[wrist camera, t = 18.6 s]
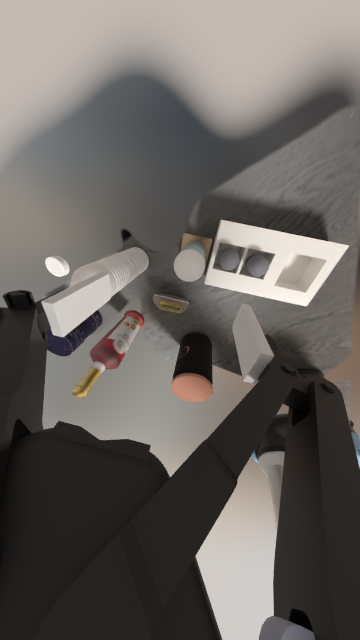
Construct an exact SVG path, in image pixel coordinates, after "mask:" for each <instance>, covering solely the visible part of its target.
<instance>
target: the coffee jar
mask: <svg viewBox="0 0 360 640" xmlns="http://www.w3.org/2000/svg"><path fill="white" fill-rule="evenodd" d="M171 388H172V391H173V392H174V394H175V395H177V396H178V397H180V398H181V399H183V400H187V401H191V402H199V401H204V400H207V399H208V398H209V397H210V396H211V395H212V393H213V390H212V344H211V341H210V340H209V339H208V338H207V337H206V336H205V335H203V334H200V333H191V334H188V335H186V336H185V337H184V338H183V339H182V341H181V345H180V349H179V353H178V358H177V362H176V366H175V371H174V375H173V381H172V384H171Z"/></svg>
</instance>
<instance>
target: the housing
mask: <svg viewBox="0 0 360 640" xmlns="http://www.w3.org/2000/svg"><path fill="white" fill-rule="evenodd" d="M348 247H349V246H348V245H343V244H338V243H333V242H328V241H323V240H319V239H314V238H309V237H304V236H299V235H294V234H289V233H284V232H279V231H274V230H270V229H265V228H260V227H255V226H250V225H245V224H240V223H235V222H230V221H225V220H220V221H219V225H218V229H217V233H216V236H215V240H214V244H213V248H212V252H211V256H210V259H209V263H208V267H207V271H206V275H205V283H204V284H207V285H212V286H216V287H221V288H225V289H230V290H234V291H239V292H243V293H248V294H252V295H257V296H261V297H266V298H270V299H275V300H279V301H284V302H289V303H293V304H298V305H302V306H307V305H308V304H309V302H310V301H311V300H312V298H313V297H314V295H315V294H316V292H317V291H318V290H319V288H320V287H321V285H322V284H323V282H324V281H325V280H326V278H327V277H328V275H329V274H330V272H331V271H332V270H333V268H334V267H335V265H336V264H337V262H338V261H339V260H340V258H341V257H342V255H343V254H344V252H345V251H346V250H347V248H348ZM226 248H232V249H234V250H235V251H236V253H237V254H238V256H239V263H238V265H237V267H236V268H234V269H233V270H224V269H223V268H222V267H221V266H220V262H219V255H220V253H221V251H223V250H224V249H226ZM253 254H260V255H262V256H263V257H265V258H266V259H267V260H268V261H269V269H268V271H267V272H266V273H265V274H264V275H262V276H259V277H255V276H252V275H251V274H250V273H249V271H248V270H247V268H246V261H247V259H248V258H249V257H250V256H251V255H253Z"/></svg>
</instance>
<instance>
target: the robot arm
mask: <svg viewBox="0 0 360 640" xmlns="http://www.w3.org/2000/svg"><path fill="white" fill-rule="evenodd" d="M3 298H4V300H5V302H6V304H7V306H8V308H1V307H0V640H222V638H221V634H220V631H219V628H218V625H217V622H216V619H215V616H214V613H213V609H212V606H211V603H210V600H209V597H208V594H207V591H206V588H205V585H204V582H203V579H202V575H201V572H200V569H199V566H198V563H197V560H196V557H195V556H196V554H197V552H198V550H199V549H200V547H201V545H202V544H203V542H204V540H205V539H206V537H207V535H208V534H209V532H210V530H211V529H212V527H213V525H214V524H215V522H216V520H217V518H218V517H219V515H220V513H221V512H222V510H223V508H224V507H225V504H226V503H227V502H228V499H229V498H230V496H231V495H232V493H233V491H234V489H235V487H236V485H237V479H238V477H239V475H240V473H241V471H242V470H243V468H244V467H245V465H246V463H247V462H248V460H249V458H250V457H251V455H252V457H253V459H254V461H255V462H257V463H258V465H259V467H260V469H261V470H262V471H263V472H264V473H265V474H266V476H267V481H268V487H269V492H270V497H271V502H272V508H273V512H274V517H275V523H276V528H277V539H276V549H275V561H274V581H273V588H274V616H272V617H269V618H267V619H266V621H265V622H264V624H263V625H262V628H261V632H260V636H259V640H360V438H359V436H358V435H357V434H356V433H355V431H354V430H353V428H352V427H351V425H350V424H349V421H348V417H347V413H346V408H345V404H344V400H343V396H342V393H341V391H340V390H339V389H338V388H337V387H336V386H335V385H334V384H333V383H331V382H330V381H328V380H326V379H325V377H324V376H323V375H322V374H321V373H319V372H317V371H314V370H308V369H301V370H296V368H295V367H293V366H292V365H291V364H289V363H287V362H285V361H284V359H283V357H282V355H281V353H280V351H279V350H278V347H277V346H276V344H275V342H274V340H273V339H272V338H271V337H270V336H269V335H266V334H264V333H263V331H262V329H261V327H260V325H259V323H258V321H257V318H256V316H255V314H254V312H253V310H252V308H251V306H250V305H247V304H242V305H241V307H240V310H239V312H238V314H237V316H236V319H235V321H234V323H233V326H232V329H233V334H234V339H235V343H236V348H237V353H238V358H239V363H240V368H241V372H242V377H243V381H245V382H249V383H253V384H254V383H255V382H256V381H257V380H258V379H259V382H258V383H257V384H256V385H255V386H254V387H253V389H252V390H251V391H250V392H249V393H248V394H247V395H246V396H245V397H244V398H243V400H242V401H241V402H240V403H239V404H238V405H237V406H236V407H235V409H234V410H233V411H232V412H231V413H230V414H229V415H228V416H227V417H226V419H225V420H224V421H223V422H222V423H221V424H220V425H219V426H218V427H217V428H216V430H215V431H214V432H213V433H212V434H211V435H210V436H209V437H208V438H207V439H206V440H205V441H204V442H202V443H201V444H200V445H199V447H198V448H197V449H196V450H195V451H194V452H193V453H192V454H191V455H190V456H189V457H188V459H187V460H186V461H185V462H184V463H183V464H182V465H181V466H180V467H179V468H178V470H177V471H176V472H175V473H174V474H173V475H172V477H169V474H168V473H167V471H166V469H165V467H164V465H163V464H162V463H161V461H160V460H159V459H158V458H157V457H156V456H155V455H154V454H152V453H151V452H149V451H150V445H148V444H144V443H140V442H136V441H132V440H129V439H121V440H99V439H97V438H96V437H94V436H93V435H92V434H90V433H89V432H88V431H86V430H85V429H83V428H82V427H80V426H76V425H72V424H68V423H64V422H61V421H58V423H57V424H56V425H55V427H54V428H50V429H45V430H43V425H42V414H43V400H44V384H45V369H46V354H47V339H48V335H47V332H46V331H48V330H49V329H51V331H52V333H53V335H55V336H59V337H64V336H66V335H67V334H68V333H69V332H70V331H72V330H73V329H74V328H75V327H77V326H78V325H79V324H80V323H82V322H83V321H84V320H85V319H87V318H88V317H89V316H90V315H92V314H93V313H94V312H95V311H97V310H98V309H99V308H100V307H101V306H103V305H104V304H105V303H106V302H108V301H109V300H110V299H111V294H110V282H109V274H108V273H104V272H100V273H98V274H96V275H94V276H92V277H90V278H88V279H86V280H84V281H82V282H80V283H78V284H76V285H74V286H71V287H69V288H67V289H65V290H62V291H59V292H57V293H55V294H53V295H50V296H49V297H46V298H44V299H42V300H40V301H38V302H36V303H35V301H34V298H33V296H32V293H31V292H29V291H25V290H18V291H12V292H8V293H6V294H4V295H3ZM282 404H285V405H287V406H289V413H288V414H279V415H276V414H277V412H278V411H279V409H280V407H281V406H282Z"/></svg>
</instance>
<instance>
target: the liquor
mask: <svg viewBox="0 0 360 640" xmlns="http://www.w3.org/2000/svg"><path fill="white" fill-rule="evenodd" d="M143 325H144V318H143V316H142V315H141V314H140V313H138V312H137V311H133V310H131V311H127V312H126V313H125V316H124V318H122V320H121V321H120V322H119V323H118V324H117V325H116V326H115V327H114V328H113V329H112V330H111V331H110V332H109V333H107V335H105V337H103V339H101V340H100V341H99V342H98V343H97V344H96V346H94V347H93V348H92V350H91V351H90V356H91V358H92V360H93V362H94V363H93V364H92V366H91V367H90V369H89V370H88V372H87V373H86V375H85V376H84V378H82V379H81V380H80V381H79V382H78V383H77V385H76V386H75V387H74V388H73V390H72V394H73V395H75V396H76V397H79V398H84V397H85V396H86V394H87V393H88V392H89V390H90V389H91V387H92V384H93V383H94V381H95V380H96V379H97V378H98V377H99V376H100V374H101V373H102V372H103V371H104V370H105V369H115V368H117V367H118V366H119V364H120V362H121V361H122V359H123V357H124V356H125V354H126V352H127V350H128V348H129V346H130V344H131V343H132V341H133V339H134V337H135V335H136V334H137V332H138V330H139V328H140V327H142V326H143Z"/></svg>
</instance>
